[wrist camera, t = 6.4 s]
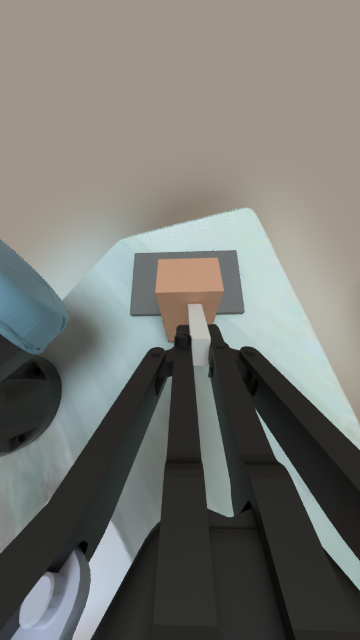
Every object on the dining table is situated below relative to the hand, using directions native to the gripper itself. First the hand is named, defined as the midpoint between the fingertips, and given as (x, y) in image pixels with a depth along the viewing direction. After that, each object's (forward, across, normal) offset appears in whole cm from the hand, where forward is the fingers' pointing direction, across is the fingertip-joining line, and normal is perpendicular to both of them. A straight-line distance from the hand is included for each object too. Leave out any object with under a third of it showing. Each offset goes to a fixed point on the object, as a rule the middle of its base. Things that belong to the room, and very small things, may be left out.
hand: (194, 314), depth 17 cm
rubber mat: (+16, -1, -1) cm, 16 cm away
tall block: (+9, -1, -8) cm, 12 cm away
